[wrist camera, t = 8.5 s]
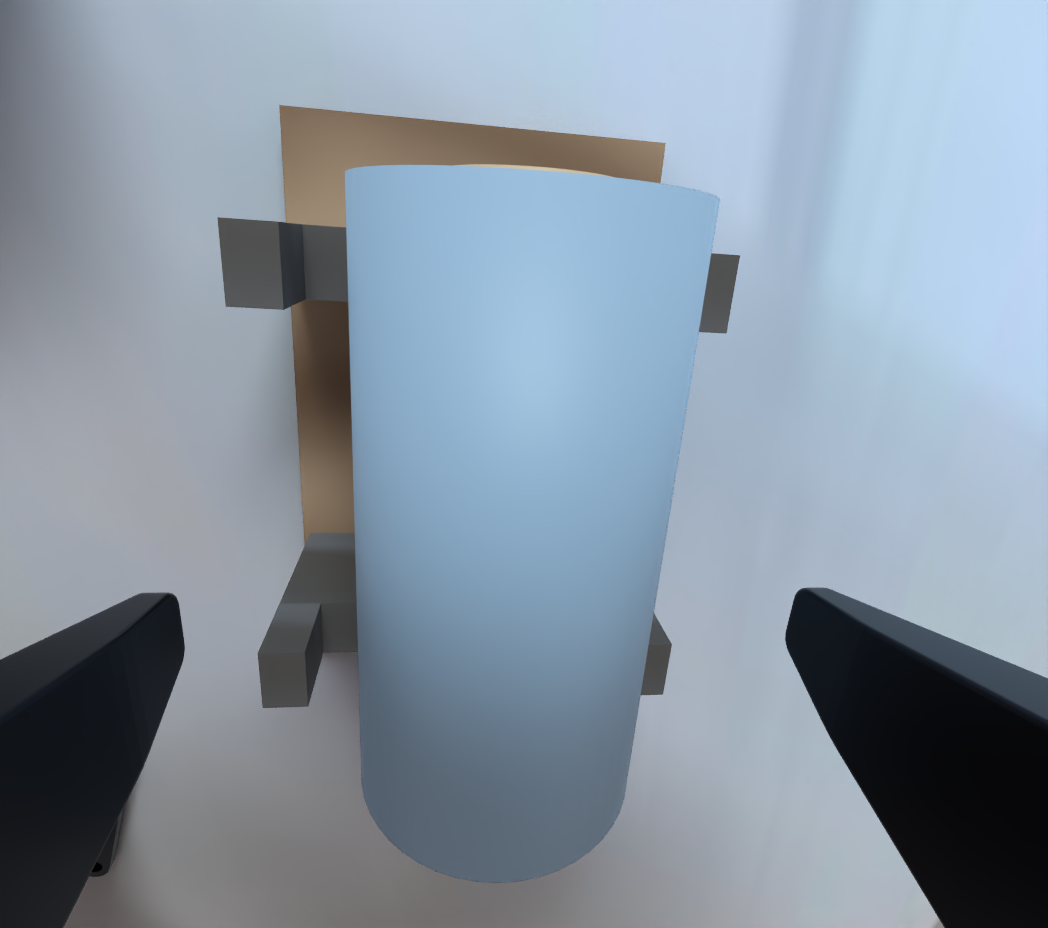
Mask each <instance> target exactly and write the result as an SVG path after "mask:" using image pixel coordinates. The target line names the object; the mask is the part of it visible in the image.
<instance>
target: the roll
mask: <svg viewBox="0 0 1048 928" xmlns="http://www.w3.org/2000/svg"><path fill="white" fill-rule="evenodd" d="M345 199H346V235H347V272H348V308H349V344H350V381H351V417H352V453H353V489H354V526H355V562H356V598H357V634H358V671H359V707H360V743H361V780H362V788H363V793H364V798H365V801H366V804H367V806H368V809H369V812H370V814H371V815H372V817H373V819H374V821H375V822H376V824H377V826H378V827H379V828H380V830H381V831H382V832H383V833H384V835H385V836H386V837H387V838H388V840H389V841H391V842H392V843H393V844H394V845H395V846H396V847H397V848H398V849H399V850H401V851H402V852H403V853H404V854H406V855H407V856H409V857H410V858H412V859H413V860H415V861H416V862H418V863H420V864H422V865H424V866H426V867H428V868H430V869H432V870H434V871H437V872H440V873H443V874H446V875H449V876H452V877H455V878H460V879H465V880H470V881H476V882H492V883H502V882H516V881H523V880H528V879H532V878H537V877H541V876H544V875H547V874H550V873H552V872H555V871H558V870H560V869H562V868H564V867H566V866H568V865H570V864H572V863H574V862H575V861H577V860H578V859H580V858H581V857H583V856H584V855H585V854H587V853H588V852H590V851H591V850H592V849H593V848H594V847H595V846H596V845H597V844H598V843H599V842H600V841H601V840H602V839H603V838H604V836H605V835H606V834H607V832H608V831H609V830H610V828H611V827H612V826H613V824H614V822H615V820H616V818H617V816H618V814H619V812H620V809H621V806H622V803H623V800H624V795H625V789H626V783H627V776H628V770H629V764H630V758H631V751H632V745H633V739H634V733H635V726H636V720H637V714H638V708H639V701H640V695H641V689H642V683H643V676H644V670H645V664H646V658H647V651H648V645H649V639H650V633H651V627H652V620H653V614H654V608H655V602H656V595H657V589H658V583H659V577H660V570H661V564H662V558H663V552H664V545H665V539H666V533H667V527H668V520H669V514H670V508H671V502H672V495H673V489H674V483H675V477H676V470H677V464H678V458H679V452H680V445H681V439H682V433H683V427H684V421H685V414H686V408H687V402H688V396H689V389H690V383H691V377H692V371H693V364H694V358H695V352H696V346H697V339H698V333H699V327H700V321H701V314H702V308H703V302H704V296H705V289H706V283H707V277H708V271H709V264H710V258H711V252H712V246H713V240H714V233H715V227H716V221H717V215H718V208H719V202H720V198H718V197H717V196H715V195H712V194H710V193H706V192H702V191H699V190H694V189H689V188H684V187H679V186H673V185H667V184H661V183H654V182H647V181H640V180H632V179H624V178H615V177H611V176H607V175H602V174H596V173H590V172H583V171H576V170H567V169H558V168H547V167H535V166H520V165H495V164H468V165H454V166H449V165H381V166H366V167H357V168H352V169H348V170H346V171H345Z"/></svg>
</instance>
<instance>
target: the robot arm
mask: <svg viewBox="0 0 1048 928" xmlns="http://www.w3.org/2000/svg"><path fill="white" fill-rule="evenodd" d="M785 639H786V645H787V649H788V652H789V654H790V656H791V658H792V660H793V662H794V664H795V666H796V668H797V670H798V672H799V674H800V677H801V679H802V681H803V683H804V685H805V687H806V689H807V691H808V693H809V695H810V697H811V700H812V702H813V704H814V706H815V708H816V710H817V712H818V714H819V716H820V718H821V720H822V722H823V724H824V726H825V728H826V730H827V732H828V734H829V736H830V738H831V740H832V741H833V743H834V745H835V747H836V748H837V750H838V752H839V754H840V755H841V757H842V759H843V760H844V762H845V764H846V765H847V767H848V769H849V770H850V772H851V774H852V775H853V777H854V779H855V780H856V782H857V783H858V785H859V787H860V788H861V790H862V792H863V793H864V795H865V797H866V798H867V800H868V802H869V803H870V805H871V807H872V808H873V810H874V812H875V813H876V815H877V817H878V818H879V820H880V822H881V823H882V825H883V827H884V828H885V830H886V832H887V833H888V835H889V837H890V838H891V840H892V842H893V843H894V845H895V846H896V848H897V850H898V851H899V853H900V855H901V856H902V858H903V860H904V861H905V863H906V865H907V866H908V868H909V870H910V871H911V873H912V875H913V876H914V878H915V880H916V881H917V883H918V885H919V886H920V888H921V890H922V891H923V893H924V895H925V896H926V898H927V900H928V901H929V903H930V904H931V906H932V908H933V909H934V911H935V913H936V914H937V916H938V918H939V919H940V921H941V923H942V924H943V926H944V928H1048V678H1046V677H1043V676H1041V675H1038V674H1036V673H1033V672H1031V671H1028V670H1026V669H1024V668H1021V667H1019V666H1016V665H1014V664H1011V663H1009V662H1006V661H1004V660H1002V659H999V658H997V657H994V656H992V655H989V654H987V653H984V652H982V651H980V650H977V649H975V648H972V647H970V646H967V645H965V644H963V643H960V642H958V641H955V640H953V639H950V638H948V637H945V636H943V635H941V634H938V633H936V632H933V631H931V630H928V629H926V628H923V627H921V626H919V625H916V624H914V623H911V622H909V621H906V620H904V619H901V618H899V617H897V616H894V615H892V614H889V613H887V612H884V611H882V610H879V609H877V608H875V607H872V606H870V605H867V604H865V603H862V602H860V601H858V600H855V599H853V598H850V597H848V596H845V595H843V594H840V593H838V592H836V591H833V590H831V589H828V588H802V589H800V590H799V591H798V592H797V593H796V595H795V598H794V601H793V605H792V609H791V613H790V617H789V621H788V625H787V629H786V637H785ZM184 651H185V645H184V637H183V630H182V623H181V616H180V609H179V603H178V600H177V598H176V596H175V595H174V594H172V593H140V594H138V595H136V596H133V597H131V598H129V599H127V600H125V601H123V602H121V603H119V604H117V605H114V606H112V607H110V608H108V609H106V610H104V611H102V612H100V613H98V614H96V615H93V616H91V617H89V618H87V619H85V620H83V621H81V622H79V623H77V624H74V625H72V626H70V627H68V628H66V629H64V630H62V631H60V632H58V633H56V634H53V635H51V636H49V637H47V638H45V639H43V640H41V641H39V642H37V643H34V644H32V645H30V646H28V647H26V648H24V649H22V650H20V651H18V652H15V653H13V654H11V655H9V656H7V657H5V658H3V659H1V660H0V928H63V927H64V925H65V923H66V921H67V919H68V917H69V915H70V913H71V911H72V909H73V907H74V905H75V903H76V901H77V899H78V897H79V895H80V893H81V891H82V889H83V887H84V885H85V883H86V881H87V879H88V877H89V876H92V877H97V876H102V875H104V874H106V873H107V872H108V871H109V869H110V867H111V865H112V863H113V861H114V859H115V854H116V848H117V843H118V837H119V832H120V826H121V821H122V815H123V810H124V806H125V804H126V802H127V800H128V798H129V796H130V794H131V792H132V790H133V788H134V786H135V784H136V781H137V779H138V777H139V775H140V773H141V771H142V769H143V767H144V764H145V762H146V759H147V757H148V754H149V752H150V749H151V746H152V744H153V741H154V738H155V736H156V733H157V730H158V727H159V725H160V722H161V719H162V717H163V714H164V711H165V708H166V706H167V703H168V700H169V698H170V695H171V692H172V690H173V687H174V684H175V681H176V679H177V676H178V673H179V671H180V668H181V665H182V662H183V658H184Z"/></svg>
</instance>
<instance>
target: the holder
mask: <svg viewBox="0 0 1048 928" xmlns="http://www.w3.org/2000/svg"><path fill="white" fill-rule="evenodd" d="M279 106H280V123H281V141H282V158H283V175H284V193H285V210H286V223H284V222H273V221H259V220H245V219H231V218H218V227H219V238H220V248H221V259H222V270H223V281H224V292H225V303H226V307H245V308H263V309H282V310H284V309H286V308H288V307H290V306H291V314H292V332H293V349H294V367H295V384H296V401H297V419H298V436H299V453H300V471H301V488H302V506H303V523H304V540H305V547H304V549H303V552H302V554H301V556H300V558H299V561H298V563H297V565H296V568H295V570H294V572H293V574H292V577H291V579H290V581H289V583H288V586H287V588H286V590H285V593H284V595H283V597H282V599H281V602H280V604H279V606H278V608H277V611H276V613H275V615H274V618H273V620H272V622H271V624H270V627H269V629H268V631H267V634H266V636H265V638H264V640H263V643H262V645H261V647H260V649H259V652H258V661H259V672H260V683H261V694H262V704H263V708H277V707H306V706H308V705H309V701H310V698H311V694H312V691H313V687H314V684H315V680H316V676H317V673H318V669H319V666H320V662H321V659H322V655H323V653H324V652H358V634H357V598H356V562H355V526H354V489H353V453H352V417H351V381H350V344H349V308H348V272H347V235H346V199H345V171H346V170H348V169H352V168H357V167H366V166H381V165H449V166H454V165H468V164H495V165H520V166H535V167H547V168H558V169H567V170H576V171H583V172H590V173H596V174H602V175H607V176H611V177H615V178H624V179H632V180H640V181H647V182H654V183H660V182H661V174H662V166H663V158H664V151H665V143H658V142H647V141H637V140H627V139H617V138H607V137H597V136H587V135H576V134H566V133H556V132H546V131H536V130H526V129H515V128H505V127H495V126H485V125H475V124H465V123H455V122H444V121H434V120H424V119H414V118H404V117H394V116H383V115H373V114H363V113H353V112H343V111H333V110H323V109H312V108H302V107H292V106H282V105H279ZM739 258H740V256H739V255H726V254H712V253H711V258H710V264H709V271H708V277H707V283H706V289H705V296H704V302H703V308H702V314H701V321H700V327H699V332H711V333H726V332H727V326H728V321H729V315H730V309H731V303H732V298H733V292H734V286H735V281H736V275H737V269H738V264H739ZM671 645H672V644H671V642H670V641H669V639H668V637H667V635H666V634H665V632H664V630H663V628H662V626H661V625H660V623H659V621H658V619H657V618H656V616H655V614H653V620H652V627H651V633H650V639H649V645H648V651H647V658H646V664H645V670H644V676H643V683H642V689H641V695H661V694H663V691H664V685H665V679H666V674H667V668H668V662H669V657H670V651H671Z"/></svg>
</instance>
